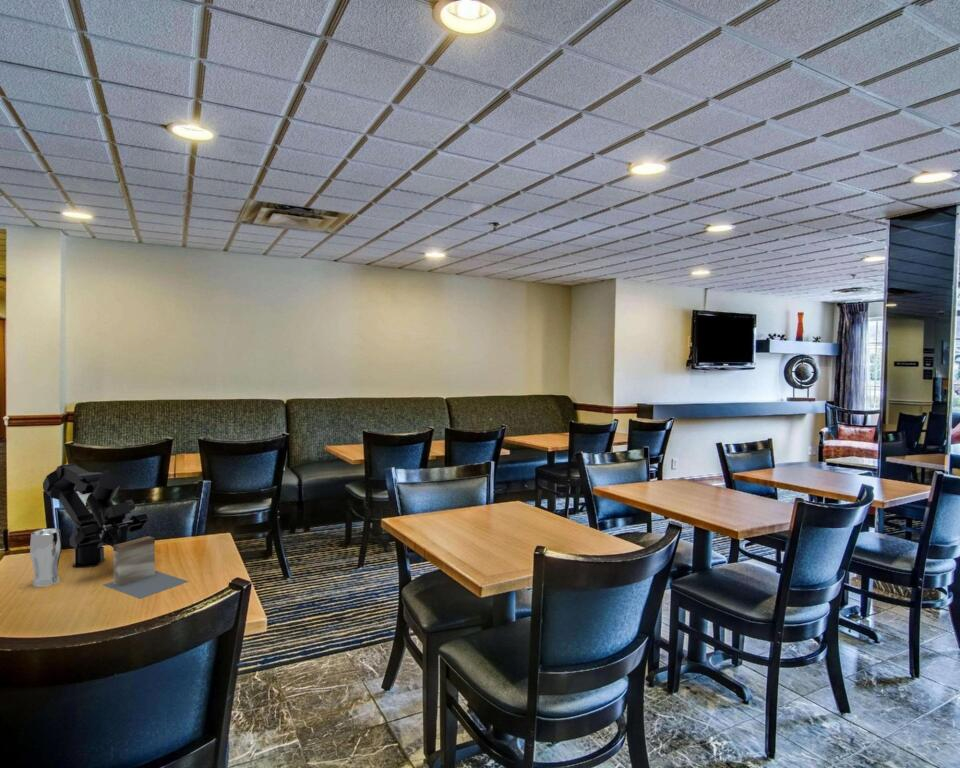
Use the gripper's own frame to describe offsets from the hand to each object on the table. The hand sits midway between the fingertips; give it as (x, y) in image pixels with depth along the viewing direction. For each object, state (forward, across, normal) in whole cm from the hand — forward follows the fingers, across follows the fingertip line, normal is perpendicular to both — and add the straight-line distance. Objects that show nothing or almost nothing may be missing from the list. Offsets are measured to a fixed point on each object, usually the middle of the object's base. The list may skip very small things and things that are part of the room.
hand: (125, 551), depth 167 cm
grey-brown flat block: (+8, 0, +2) cm, 9 cm away
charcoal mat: (+12, 0, -2) cm, 13 cm away
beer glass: (-4, -14, +15) cm, 21 cm away
